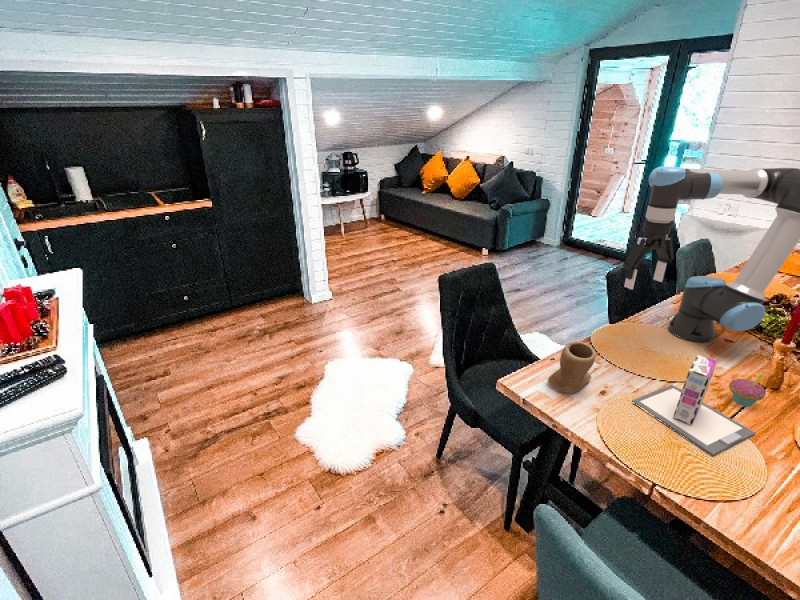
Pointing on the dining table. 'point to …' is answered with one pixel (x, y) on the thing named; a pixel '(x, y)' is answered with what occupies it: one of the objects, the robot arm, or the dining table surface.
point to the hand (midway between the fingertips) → (643, 284)
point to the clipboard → (695, 421)
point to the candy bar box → (694, 389)
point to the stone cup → (573, 367)
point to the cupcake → (747, 391)
